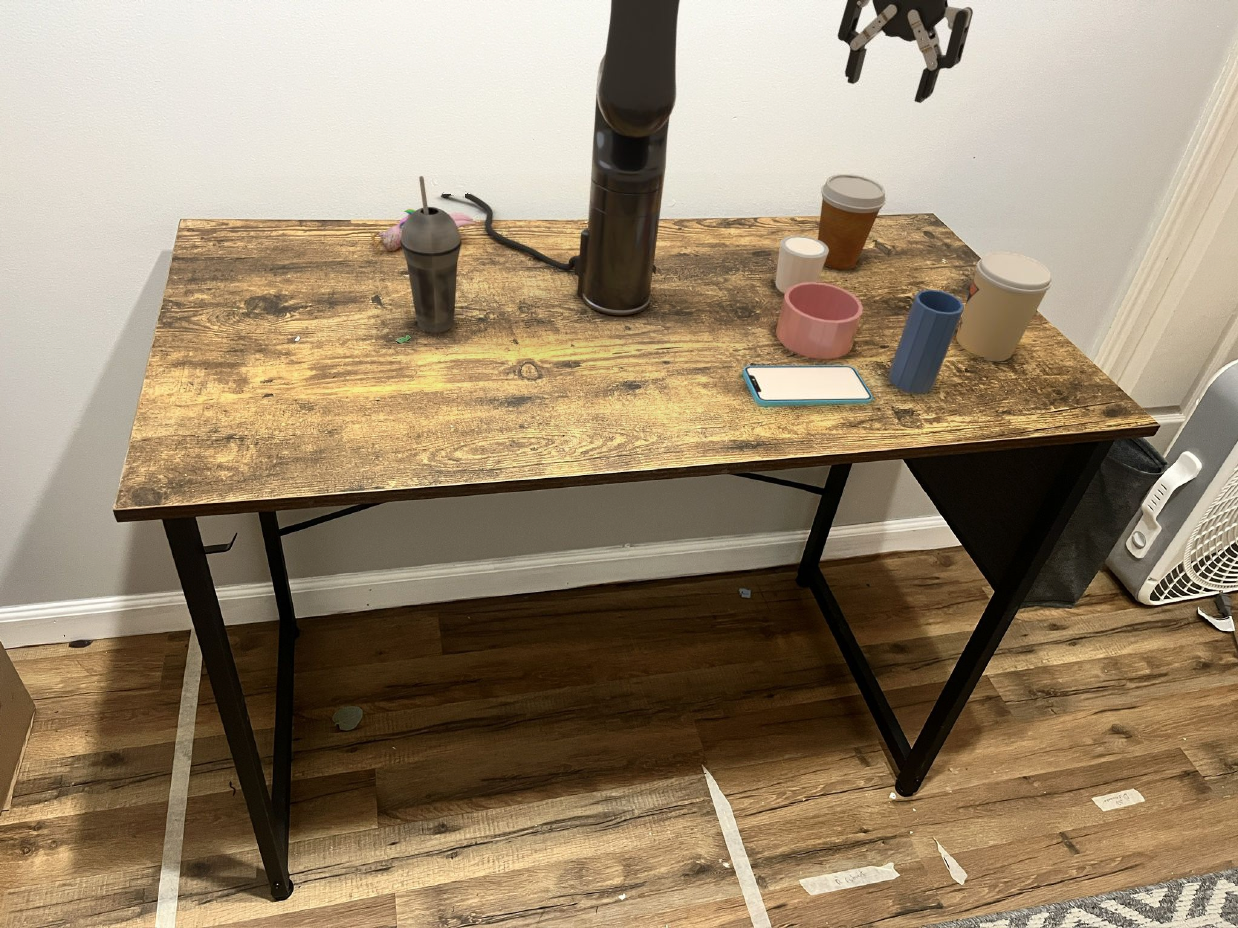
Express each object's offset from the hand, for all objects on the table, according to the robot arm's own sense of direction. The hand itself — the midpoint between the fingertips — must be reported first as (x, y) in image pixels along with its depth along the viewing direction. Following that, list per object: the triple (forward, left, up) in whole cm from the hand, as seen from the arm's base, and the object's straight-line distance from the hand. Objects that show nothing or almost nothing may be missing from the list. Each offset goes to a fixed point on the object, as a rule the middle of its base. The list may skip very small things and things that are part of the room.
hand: (885, 91), depth 106 cm
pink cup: (+2, -9, -30) cm, 31 cm away
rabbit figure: (-54, -24, -30) cm, 66 cm away
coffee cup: (+21, +6, -30) cm, 37 cm away
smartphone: (+6, -20, -30) cm, 37 cm away
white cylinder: (-6, +2, -30) cm, 31 cm away
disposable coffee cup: (-5, +15, -30) cm, 34 cm away
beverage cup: (-38, -39, -30) cm, 62 cm away
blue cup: (+16, -10, -30) cm, 35 cm away
